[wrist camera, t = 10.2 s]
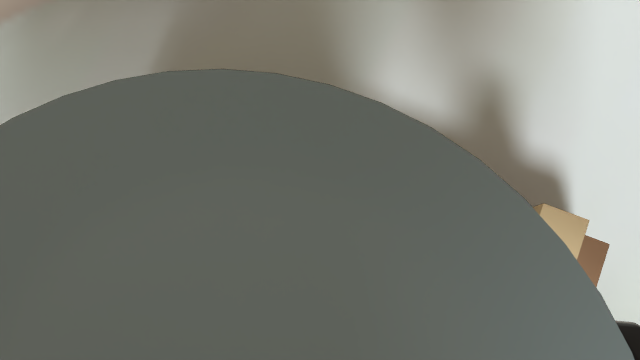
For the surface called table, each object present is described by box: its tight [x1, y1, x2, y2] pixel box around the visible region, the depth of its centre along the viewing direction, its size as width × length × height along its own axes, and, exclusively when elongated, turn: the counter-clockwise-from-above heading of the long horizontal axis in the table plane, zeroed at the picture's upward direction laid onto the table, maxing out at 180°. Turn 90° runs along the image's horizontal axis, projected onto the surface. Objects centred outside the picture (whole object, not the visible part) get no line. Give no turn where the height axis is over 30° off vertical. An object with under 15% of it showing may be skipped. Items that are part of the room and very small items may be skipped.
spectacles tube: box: [0, 69, 635, 360], centre depth 9 cm, size 5×5×13 cm
